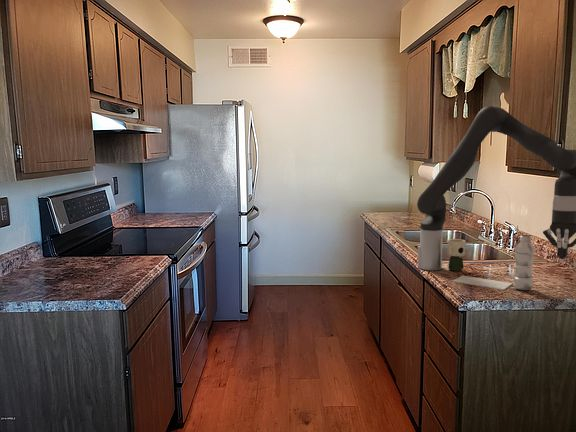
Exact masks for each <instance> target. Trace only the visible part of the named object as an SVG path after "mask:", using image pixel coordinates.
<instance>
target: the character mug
mask: <svg viewBox="0 0 576 432" xmlns="http://www.w3.org/2000/svg"><path fill="white" fill-rule="evenodd" d="M466 245H467V243H466V240H465V239H459V238H451V239H448V240H447V255H448V256H450V257H449V260H448V261H449V262H448V266H447V269H448V270H451V271H453V272H456V271H457V272H459V271H460V272H461V271H463V270H464V261H463V257H464V256H466Z"/></svg>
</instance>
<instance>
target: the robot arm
mask: <svg viewBox="0 0 576 432" xmlns="http://www.w3.org/2000/svg"><path fill="white" fill-rule="evenodd" d="M491 132H493V133H495V132H496V133H500V134H503V135H505V136H507V137H510V138H512V139H513V140H514V141H516V142H517V143H518V144H519V145H520V146H522V147H523V148H524V149H526V150H527V151H529V152H530V153H531V154H534V155H536V156H538V157H539V158H541V159H543V160H544V162H546V163H547V164H548V165H550V166H551V167H553V168H554V169H556V170H558V171H560V172H559V177H558V178H557V179H556V180H555V182H554V191H553V200H552V210H551V211H552V212H551V213H552V214H551V224H550V226H549V228H547V229H545V230H543V231H542V234H543V235H544V236H545V238H546V239H547V240H548V242H549V243H550V244H551V246H553V247H555V248H557V250H556V252H557V254H556V256H557V257H558V260H559V259H560V260H565V259H566V258H568V252H569V248H573V247H575V245H576V238H574V240H572V241H571V242H570V240H571V238H573V236H575V235H576V149H567V148H564V147H562V146H560V145H558V142H557V141H556V140H555V139H553V138H551V137H549V136H547V135H546V134H544V133H541V132H540V131H537V130H535V129H533V128H532V127H530V126H528V125H526V124H524V123H523V122H521V121H519V119H517V118H515V117H514V116H513V115H512V114H511V113H509V112H508V111H507V110H506V109H504V108H503V107H498V106H493V105H491V106H490V105H489V106H488V105H487V106H484V107H483V108H481V109H480V111H478V113H477V114H476V116H475V117H474V119H473V121H472V123H471V125H470V126H469V128H468V130H467V132H466V133H465V135H464V136H463V138H462V139H461V141H460V142H459V143H458V145H457V146H456V148H455V149H453V150H454V151H452V153H451V154H450V156H449V157H448V159H447V160H446V162H445V163H444V165H443V166H442V168H440V171H439V172H438V173H437V175H436V176H435V177H434V179H433V181H431V183H430V184H429V185H428V186H427V188H426V189H425V190H424V191H423V192H422V193H421V194H420V195H419V197H418V200H417V204H416V205H417V210H418V211H419V212H420V213H422V214H423V215H425V217H424V219H423V220H422V221H421V222H420V231H419V232H420V233H419V234H420V235H419V236H420V237H419V238H420V239H419V245H418V246H417V268H418V269H421V270H426V271H439V270H442V268H443V263H442V262H443V233H444V232H443V231H444V229H443V228H444V224H445V223H446V214H447V213H446V211H447V200H446V197H445V194H446V193H447V191H448V190H450V189H451V188H452V187H454V186H455V185H456V184H458V183H459V182H461V180H462V179H463V178H464V177H465V176H466V175H467V174H468V173H469V171H470V169H472V167H473V165H474V164H475V162H476V159H477V155H478V151H479V149H480V146H481V144H482V143H483V141H484V140H485V139H486V137H487V136H488V135H489V134H490V133H491ZM552 234H553V235H554V236H555V237H556V239H555V238H554V236H553V235H552Z"/></svg>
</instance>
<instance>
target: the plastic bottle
mask: <svg viewBox="0 0 576 432" xmlns="http://www.w3.org/2000/svg"><path fill="white" fill-rule="evenodd" d="M531 242H532V235H530V234H520V235H519V243H518V244H517V245H516V246H515V250H514V254H515V272H514V277H513V280H512V281H513V283H512V285H513V287H514V288H515V289H516V290H519V291H530V290H532V288H533V286H534V279H533V264H534V263H533V260H534V257H535V247H534V246H533V244H532V243H531Z"/></svg>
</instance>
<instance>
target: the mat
mask: <svg viewBox="0 0 576 432" xmlns="http://www.w3.org/2000/svg"><path fill="white" fill-rule="evenodd" d="M452 282H453V283H459V284H466V285H471V286H477V287H483V288H489V289H494V290H500V291H505V290H507V288H509V287H511V286H512V285H513V283H512V282H506V281H501V280H495V279H494V280H493V279H487V278H480V277H474V276H469V275H461V276H459V277H457V278H455V279H453V280H452Z"/></svg>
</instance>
